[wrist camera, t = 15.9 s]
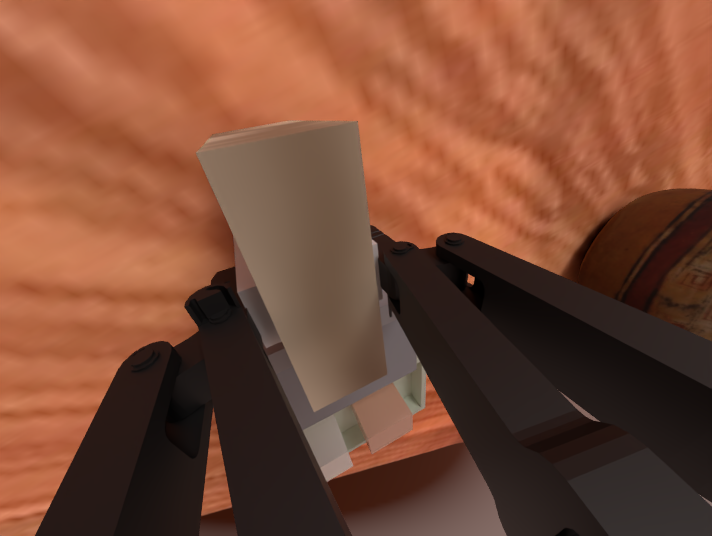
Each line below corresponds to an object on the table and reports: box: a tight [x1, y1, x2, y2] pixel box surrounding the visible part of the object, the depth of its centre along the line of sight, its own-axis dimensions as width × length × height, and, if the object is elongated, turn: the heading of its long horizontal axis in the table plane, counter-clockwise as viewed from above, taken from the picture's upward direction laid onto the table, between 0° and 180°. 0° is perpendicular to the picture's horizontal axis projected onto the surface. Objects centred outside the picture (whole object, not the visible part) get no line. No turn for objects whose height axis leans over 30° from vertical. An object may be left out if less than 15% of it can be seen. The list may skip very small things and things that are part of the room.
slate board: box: [276, 320, 417, 430], centre depth 22 cm, size 16×9×4 cm, turn 98°
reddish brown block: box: [351, 382, 413, 454], centre depth 28 cm, size 5×5×4 cm
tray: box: [334, 357, 426, 453], centre depth 28 cm, size 20×11×2 cm, turn 98°
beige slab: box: [196, 121, 397, 412], centre depth 12 cm, size 13×12×8 cm
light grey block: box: [303, 414, 353, 481], centre depth 26 cm, size 5×5×4 cm
